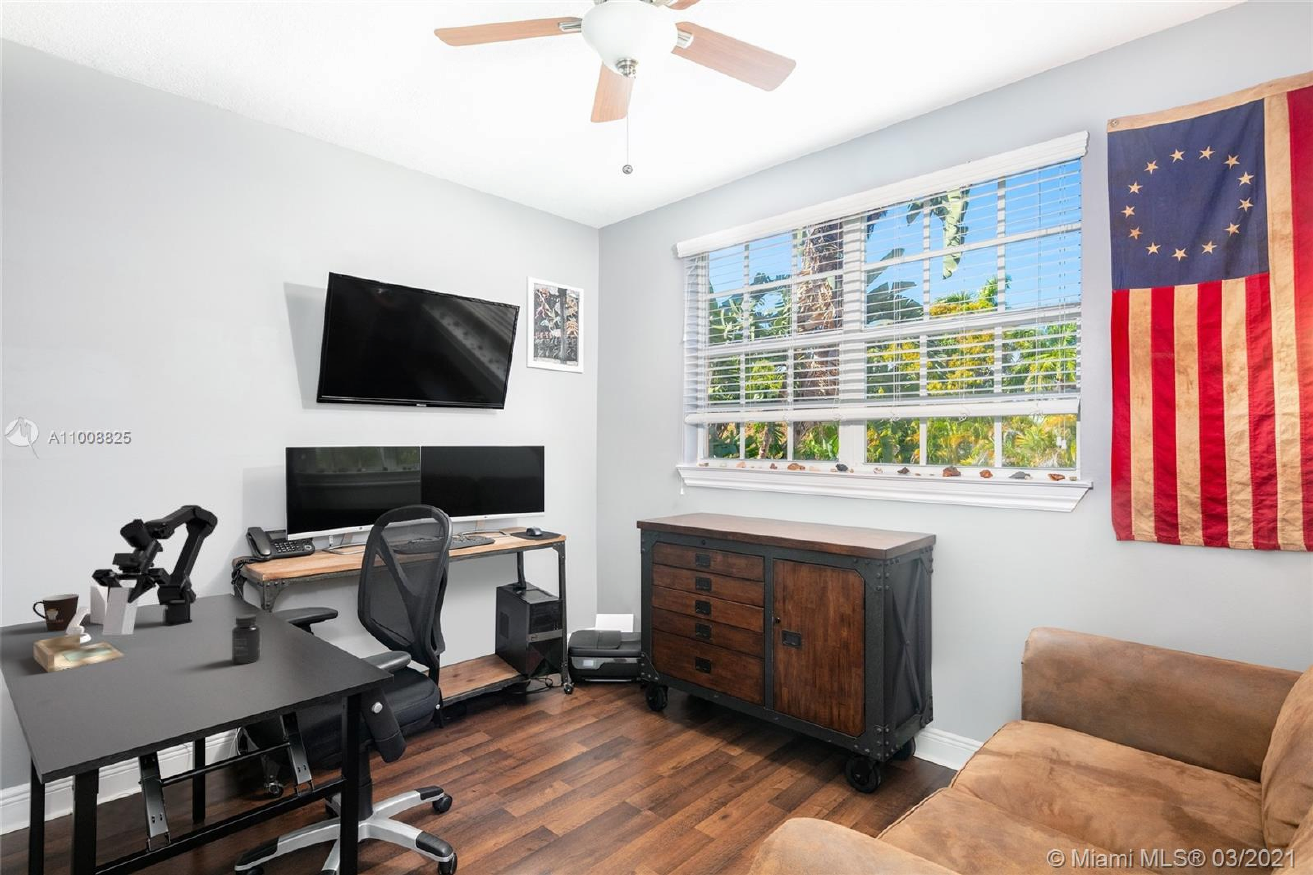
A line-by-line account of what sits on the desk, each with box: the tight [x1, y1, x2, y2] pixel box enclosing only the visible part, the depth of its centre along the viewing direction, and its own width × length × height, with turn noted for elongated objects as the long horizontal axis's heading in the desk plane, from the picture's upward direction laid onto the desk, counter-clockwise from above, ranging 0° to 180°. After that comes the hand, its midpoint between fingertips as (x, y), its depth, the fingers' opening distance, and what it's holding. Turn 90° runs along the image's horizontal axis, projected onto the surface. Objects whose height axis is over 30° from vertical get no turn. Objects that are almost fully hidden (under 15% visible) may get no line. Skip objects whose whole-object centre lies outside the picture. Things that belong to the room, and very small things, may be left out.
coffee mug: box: [32, 593, 80, 633], centre depth 213 cm, size 12×9×10 cm
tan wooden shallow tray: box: [33, 634, 125, 674], centre depth 184 cm, size 16×19×4 cm
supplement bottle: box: [230, 613, 262, 665], centre depth 182 cm, size 7×7×12 cm
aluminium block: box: [101, 587, 140, 636], centre depth 192 cm, size 5×5×13 cm
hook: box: [65, 605, 92, 644], centre depth 201 cm, size 8×12×7 cm
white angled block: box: [89, 580, 134, 626], centre depth 224 cm, size 11×11×12 cm
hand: (118, 602), depth 191 cm, fingers closed on aluminium block, 5 cm apart
